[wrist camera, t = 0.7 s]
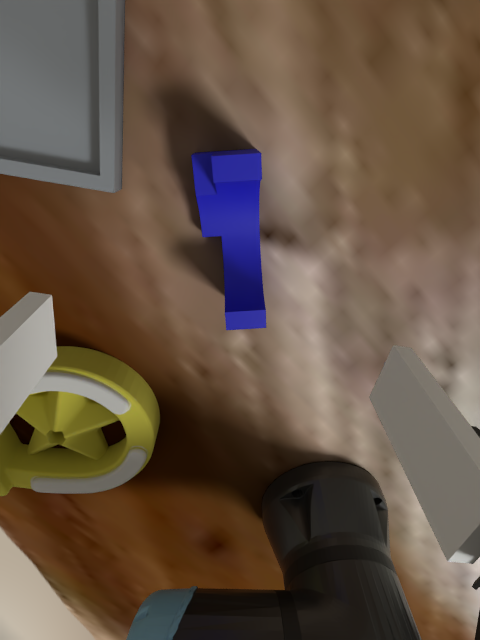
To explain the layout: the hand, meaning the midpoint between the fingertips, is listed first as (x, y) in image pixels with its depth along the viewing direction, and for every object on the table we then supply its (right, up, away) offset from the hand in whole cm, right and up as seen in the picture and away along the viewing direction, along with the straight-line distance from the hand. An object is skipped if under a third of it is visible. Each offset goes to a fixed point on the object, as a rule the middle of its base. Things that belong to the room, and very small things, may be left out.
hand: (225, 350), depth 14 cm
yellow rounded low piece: (-18, -9, +25) cm, 32 cm away
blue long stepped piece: (0, +9, +16) cm, 18 cm away
